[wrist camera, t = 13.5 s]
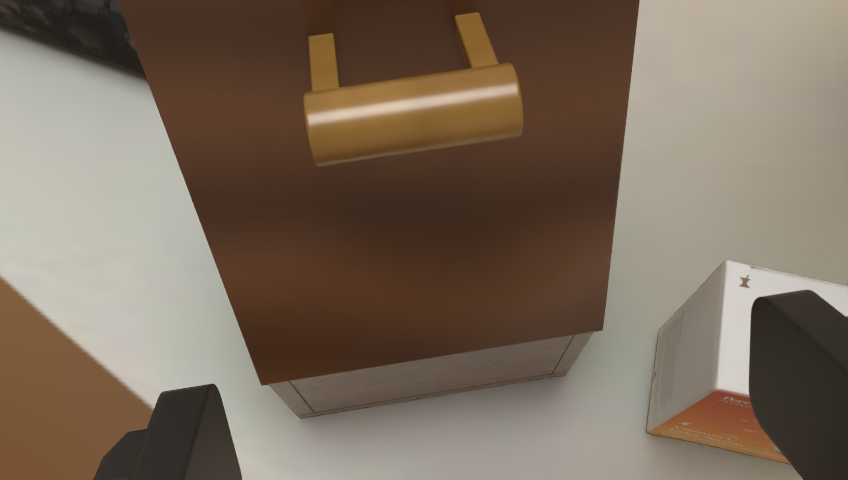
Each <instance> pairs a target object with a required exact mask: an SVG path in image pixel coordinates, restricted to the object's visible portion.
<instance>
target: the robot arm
mask: <svg viewBox="0 0 848 480" xmlns="http://www.w3.org/2000/svg"><path fill="white" fill-rule="evenodd" d="M749 396H750V402H751V406H752V409H753V412H754V415H755V417H756V419H757V421H758V423H759V425H760V427H761V428H762V429H763V431H764V432H765V433H766V434H767V435H768V437H769V438H770V439H771V440H772V442H773V443H774V444H775V445H776V446H777V448H778V449H779V450H780V451H781V453H782V454H783V455H784V456H785V457H786V459H787V460H788V461H789V462H790V464H791V465H792V466H793V467H794V468H795V470H796V471H797V472H798V473H799V475H800V476H801V477H802V478H803V479H804V480H848V316H847V317H845V316H844V315H843V314H842V313H840V312H839V311H838V310H837V309H835V308H834V307H833V306H832V305H830V304H829V303H828V302H827V301H825V300H824V299H823V298H822V297H820V296H819V295H818V294H817V293H815V292H814V291H812V290H808V289H806V290H799V291H793V292H787V293H781V294H775V295H768V296H762V297H758V298H757V299H755V301H754V302H753V305H752V309H751V325H750V356H749ZM93 480H242V476H241V471H240V467H239V463H238V459H237V455H236V452H235V448H234V444H233V440H232V437H231V433H230V429H229V425H228V421H227V418H226V414H225V410H224V406H223V403H222V399H221V396H220V393H219V390H218V388H217V387H216V385H214V384H208V385H202V386H195V387H189V388H183V389H177V390H170V391H164V392H162V393H161V394H160V396H159V398H158V400H157V403H156V406H155V408H154V411H153V414H152V417H151V419H150V422H149V424H148V427H147V429H144V430H138V431H132V432H128V433H126V434H125V436H124V437H123V438H122V439H121V440H120V441H119V442H118V443H117V444H116V445H115V446H114V447H113V448H112V449H111V450H110V451H109V452H108V453H107V454H106V455H105V456H104V457H103V459H102V461H101V463H100V466H99V468H98V470H97V472H96V475H95V477H94V479H93Z"/></svg>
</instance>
